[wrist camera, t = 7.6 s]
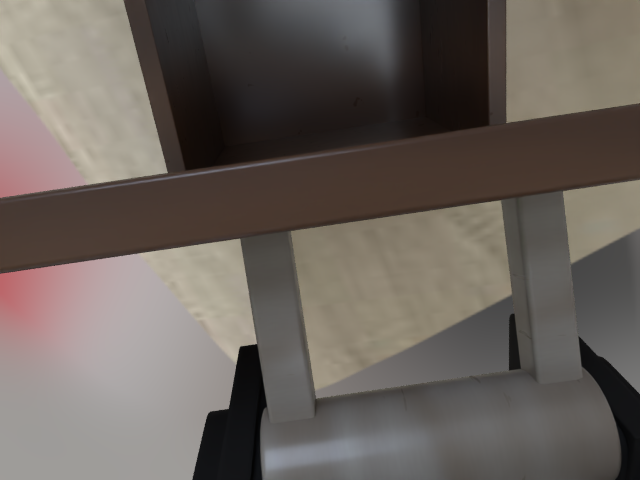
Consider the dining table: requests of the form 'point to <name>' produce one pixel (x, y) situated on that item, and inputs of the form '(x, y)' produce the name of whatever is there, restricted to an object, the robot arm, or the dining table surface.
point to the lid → (369, 203)
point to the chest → (315, 73)
